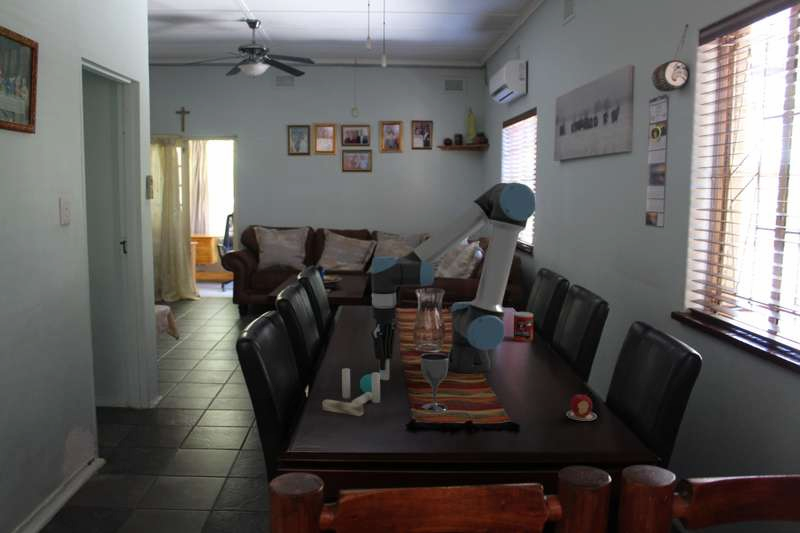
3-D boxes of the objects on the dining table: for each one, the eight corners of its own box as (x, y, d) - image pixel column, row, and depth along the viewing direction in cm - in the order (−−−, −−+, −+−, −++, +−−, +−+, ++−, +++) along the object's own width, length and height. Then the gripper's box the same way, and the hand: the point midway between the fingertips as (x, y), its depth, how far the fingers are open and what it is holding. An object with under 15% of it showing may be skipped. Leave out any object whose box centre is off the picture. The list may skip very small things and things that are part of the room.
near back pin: (381, 401, 191) (381, 372, 190) (377, 403, 189) (377, 375, 188) (374, 399, 192) (374, 371, 191) (370, 402, 190) (370, 374, 189)
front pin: (371, 400, 192) (357, 409, 185) (364, 397, 193) (350, 406, 186) (373, 393, 192) (358, 402, 184) (366, 390, 193) (351, 398, 185)
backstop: (363, 413, 180) (363, 405, 180) (359, 416, 179) (359, 407, 178) (326, 407, 186) (326, 399, 185) (322, 409, 184) (322, 401, 183)
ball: (372, 390, 192) (378, 398, 197) (378, 372, 195) (384, 381, 200) (354, 387, 195) (361, 395, 199) (360, 369, 198) (367, 378, 202)
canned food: (511, 341, 263) (512, 314, 261) (515, 337, 270) (516, 311, 269) (530, 343, 260) (531, 316, 259) (534, 338, 267) (534, 312, 266)
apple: (602, 418, 177) (603, 395, 176) (582, 424, 172) (583, 400, 172) (580, 410, 183) (580, 387, 182) (560, 415, 179) (560, 392, 178)
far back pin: (351, 396, 195) (351, 368, 194) (347, 398, 193) (347, 371, 192) (344, 395, 196) (344, 368, 195) (340, 397, 194) (340, 370, 193)
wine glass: (440, 414, 180) (440, 361, 178) (415, 409, 184) (415, 357, 182) (453, 406, 187) (453, 355, 185) (429, 401, 191) (429, 351, 189)
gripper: (382, 301, 211) (383, 372, 214) (363, 308, 199) (364, 383, 202) (403, 303, 208) (403, 375, 211) (385, 310, 196) (385, 386, 199)
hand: (384, 379), depth 206 cm, fingers closed
